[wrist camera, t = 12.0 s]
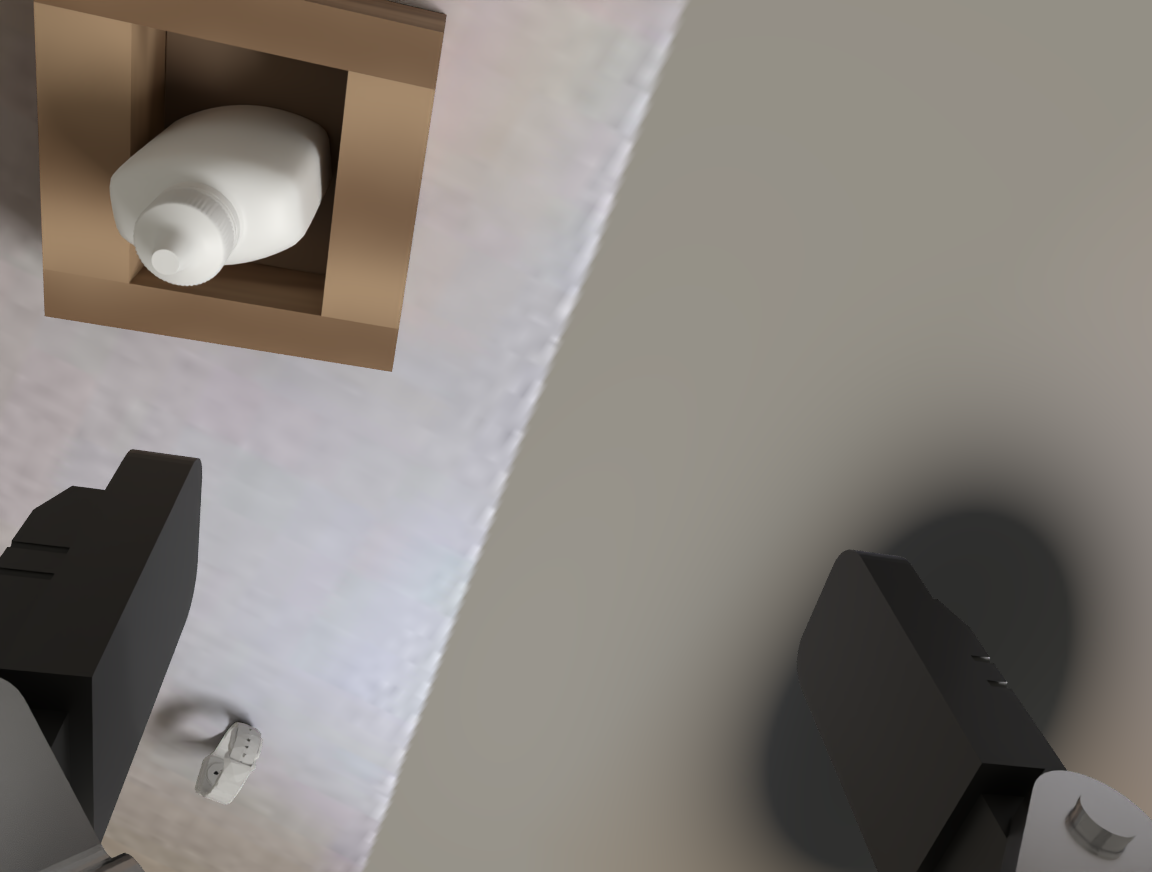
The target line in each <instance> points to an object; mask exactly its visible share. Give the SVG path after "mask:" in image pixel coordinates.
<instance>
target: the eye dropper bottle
mask: <svg viewBox="0 0 1152 872" xmlns="http://www.w3.org/2000/svg"><path fill="white" fill-rule="evenodd" d="M331 175H332V172H331V155H330V144H329V138H328V135H327V133H326V131H325V130H324V129H323V128H322V127H321V126H320V125H319V124H317V123H315V122H313V121H311V120H309V119H307V118H304V117H302V116H299V115H297V114H294V113H291V112H287V111H284V110H280V109H276V108H271V107H265V106H257V105H229V106H221V107H215V108H210V109H206V110H202V111H199V112H196V113H193V114H190V115H188V116H185V117H183V118H181V119H179V120H177V121H175V122H174V123H172V124H171V125H170V126H169V127H167V128H166V129H165V130H164V131H162V132H161V133H160V134H159V135H157V136H156V137H155V138H154V139H152V140H151V141H150V142H149V143H147V144H146V145H145V146H144V147H143V148H141V149H140V150H139V151H138V152H136V153H135V154H134V155H133V156H132V157H130V158H129V159H128V160H127V161H126V162H125V163H124V164H123V165H122V166H121V167H119V168H118V170H117V171H116V172H115V173H114V174H113V176H112V177H111V181H110V199H111V204H112V210H113V215H114V219H115V223H116V227H117V229H118V231H119V233H120V235H121V236H122V237H123V238H124V239H125V240H127V241H128V242H129V243H131V244H133V245H134V246H135V247H136V248H135V250H136V251H137V253H136V254H137V255H138V256H139V259H141V262H142V263H143V264H144V266H145V267H147V269H148V270H149V271H151V273H153V274H154V275H155V276H157V277H159V279H162V280H163V281H167V282H168V283H172V284H173V285H174V284H176V285H178V286H179V285H181V286H184V285H185V286H189V285H190V286H193V285H198V284H202V283H206V281H209V280H210V279H211V278H213V277H214V276H216V275H217V273H218V272H220V270H221V269H222V267H223V266H224V265H234V264H240V263H246V262H251V261H255V260H259V259H262V258H266V257H269V256H271V255H274V254H277V253H279V252H281V251H283V250H286V249H288V248H290V247H292V246H293V245H295V244H296V243H297V242H298V241H299V240H300V239H301V238H302V237H303V236H304V235H305V233H306V231H307V229H308V228H309V226H310V224H311V222H312V220H313V218H314V216H315V214H316V211H317V209H318V207H319V205H320V203H321V201H322V199H323V197H324V195H325V192H326V190H327V188H328V186H329V183H330V180H331Z"/></svg>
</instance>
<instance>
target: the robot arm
mask: <svg viewBox="0 0 1152 872" xmlns="http://www.w3.org/2000/svg"><path fill="white" fill-rule="evenodd" d="M201 487H202V464H201V460H200V459H199V458H192V457H185V456H178V455H171V454H163V453H156V452H149V451H142V450H134V449H132V450H130V451H129V452H128V453H127V454H126V456H125V457H124V459H123V461H122V462H121V464H120V466H119V467H118V469H117V471H116V472H115V474H114V476H113V477H112V479H111V481H110V482H109V484H108V486H107V487H106V489H105V490H101V489H93V488H85V487H77V486H71V487H70V488H68V489H66V490H65V491H63V492H61V493H60V494H58V495H57V496H55V497H53V498H52V499H50V500H48V501H47V502H45V503H44V504H42V505H40V506H39V507H37V508H35V509H34V510H33V511H32V512H31V514H30V515H29V517H28V518H27V520H26V521H25V523H24V524H23V525H22V527H21V528H20V530H19V531H18V533H17V534H16V535H15V537H14V538H13V540H12V544H11V547H7V548H6V550H5V551H4V553H3V554H2V555H1V557H0V872H144V870H143V869H142V867H141V866H140V865H139V863H138V862H137V861H136V860H135V859H134V858H133V857H132V856H130V855H129V854H126V853H123V854H120V855H118V856H116V857H114V858H111V857H110V856H109V855H108V854H107V853H106V851H105V850H104V848H103V847H102V845H101V841H102V839H103V836H104V834H105V831H106V828H107V826H108V823H109V820H110V818H111V815H112V813H113V810H114V807H115V805H116V802H117V800H118V797H119V794H120V792H121V789H122V787H123V784H124V781H125V779H126V776H127V774H128V771H129V768H130V766H131V763H132V760H133V758H134V755H135V753H136V750H137V747H138V745H139V742H140V740H141V737H142V734H143V732H144V729H145V727H146V724H147V721H148V719H149V716H150V714H151V711H152V708H153V706H154V703H155V700H156V698H157V695H158V693H159V690H160V687H161V685H162V682H163V680H164V677H165V674H166V672H167V669H168V667H169V664H170V661H171V659H172V656H173V654H174V651H175V648H176V646H177V643H178V640H179V638H180V635H181V633H182V630H183V627H184V625H185V622H186V619H187V616H188V613H189V610H190V606H191V602H192V598H193V593H194V587H195V581H196V574H197V563H198V544H199V525H200V506H201ZM989 659H990V656H989V655H988V654H987V652H986V651H985V649H984V648H983V646H982V645H981V643H980V642H979V640H978V639H977V637H976V636H975V634H974V633H973V632H972V630H971V629H970V627H969V626H968V625H966V624H965V623H964V622H963V621H962V620H961V619H959V618H958V617H957V616H956V615H955V614H954V613H953V612H951V611H950V610H949V609H948V608H947V607H946V606H945V605H944V604H943V603H941V602H940V601H939V600H938V599H933V597H932V596H931V594H930V593H929V591H928V589H927V588H926V586H925V585H924V583H923V582H922V580H921V579H920V577H919V576H918V574H917V573H916V571H915V570H914V568H913V567H912V565H911V564H910V562H909V561H908V560H907V559H905V558H903V557H900V556H893V555H886V554H878V553H871V552H864V551H856V550H846V551H844V552H843V553H841V554H840V555H839V557H838V558H837V559H836V561H835V563H834V565H833V567H832V570H831V572H830V574H829V577H828V579H827V581H826V583H825V586H824V588H823V590H822V593H821V595H820V597H819V599H818V601H817V604H816V606H815V609H814V611H813V613H812V615H811V617H810V620H809V622H808V624H807V627H806V629H805V631H804V633H803V636H802V638H801V641H800V645H799V650H798V657H797V672H798V679H799V683H800V687H801V689H802V692H803V694H804V697H805V699H806V701H807V703H808V706H809V708H810V711H811V713H812V715H813V718H814V720H815V723H816V725H817V728H818V730H819V732H820V735H821V737H822V740H823V742H824V744H825V747H826V749H827V752H828V754H829V756H830V759H831V761H832V764H833V766H834V768H835V770H836V773H837V775H838V778H839V780H840V783H841V785H842V787H843V790H844V792H845V795H846V797H847V799H848V802H849V804H850V806H851V809H852V811H853V814H854V816H855V818H856V821H857V823H858V826H859V828H860V831H861V833H862V835H863V838H864V840H865V843H866V845H867V847H868V850H869V852H870V854H871V857H872V859H873V862H874V864H875V866H876V869H877V871H878V872H1152V820H1151V819H1150V818H1149V817H1148V816H1147V815H1146V814H1145V813H1144V812H1143V811H1142V810H1141V809H1140V808H1139V807H1138V806H1137V805H1135V804H1134V803H1133V802H1132V801H1131V800H1129V799H1128V798H1126V797H1125V796H1124V795H1122V794H1121V793H1119V792H1118V791H1116V790H1115V789H1113V788H1111V787H1110V786H1108V785H1106V784H1104V783H1102V782H1100V781H1098V780H1096V779H1094V778H1091V777H1089V776H1086V775H1083V774H1079V773H1076V772H1071V771H1067V770H1066V768H1065V767H1064V765H1063V764H1062V762H1061V761H1060V759H1059V758H1058V756H1057V755H1056V754H1055V752H1054V751H1053V749H1052V748H1051V746H1050V745H1049V743H1048V742H1047V740H1046V739H1045V737H1044V736H1043V734H1042V733H1041V732H1040V730H1039V729H1038V727H1037V726H1036V724H1035V723H1034V721H1033V720H1032V718H1031V717H1030V715H1029V714H1028V712H1027V711H1026V709H1025V708H1024V706H1023V705H1022V704H1021V702H1020V701H1019V699H1018V698H1017V696H1016V695H1015V693H1014V692H1013V690H1012V689H1010V688H1007V687H1006V684H1007V682H1006V680H1005V679H1004V677H1003V676H1002V674H1001V673H1000V671H999V670H998V668H997V667H996V665H995V664H994V663H990V661H989Z"/></svg>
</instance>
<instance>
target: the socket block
mask: <svg viewBox="0 0 1152 872" xmlns="http://www.w3.org/2000/svg"><path fill="white" fill-rule="evenodd" d="M445 22H446V14H442V13H437V12H433V11H429V10H425V9H420V8H416V7H412V6H408V5H403V4H399V3H395V2H390V1H386V0H34V25H35V53H36V82H37V110H38V138H39V167H40V195H41V223H42V251H43V280H44V308H45V316H48V317H54V318H60V319H66V320H72V321H79V322H85V323H91V324H97V325H104V326H110V327H116V328H122V329H129V330H135V331H141V332H147V333H154V334H160V335H166V336H172V337H178V338H185V339H191V340H197V341H203V342H210V343H216V344H222V345H228V346H235V347H241V348H247V349H253V350H259V351H266V352H272V353H278V354H284V355H291V356H297V357H303V358H309V359H316V360H322V361H328V362H334V363H341V364H347V365H353V366H359V367H365V368H372V369H378V370H384V371H390V372H392V368H393V362H394V355H395V349H396V342H397V336H398V330H399V323H400V317H401V310H402V304H403V297H404V290H405V284H406V277H407V271H408V264H409V258H410V251H411V245H412V238H413V232H414V225H415V218H416V212H417V205H418V199H419V192H420V186H421V179H422V173H423V166H424V160H425V153H426V146H427V140H428V133H429V127H430V120H431V114H432V107H433V101H434V94H435V88H436V81H437V74H438V68H439V61H440V55H441V48H442V42H443V35H444V29H445ZM229 105H257V106H265V107H271V108H276V109H280V110H284V111H287V112H291V113H294V114H297V115H299V116H302V117H304V118H307V119H309V120H311V121H313V122H315V123H317V124H319V125H320V126H321V127H322V128H323V129H324V130H325V131H326V133H327V135H328V138H329V144H330V155H331V172H332V175H331V180H330V183H329V186H328V188H327V190H326V192H325V195H324V197H323V199H322V201H321V203H320V205H319V207H318V209H317V211H316V214H315V216H314V218H313V220H312V222H311V224H310V226H309V228H308V229H307V231H306V233H305V235H304V236H303V237H302V238H301V239H300V240H299V241H298V242H297V243H296V244H295V245H293V246H292V247H290V248H288V249H286V250H283V251H281V252H279V253H277V254H274V255H271V256H269V257H266V258H262V259H259V260H255V261H251V262H246V263H240V264H234V265H224V266H223V267H222V269H221V270H220V272H218V273H217V275H216V276H214V277H213V278H211V279H210V280H209V281H206V283H202V284H198V285H193V286H190V285H189V286H185V285H184V286H181V285H179V286H178V285H176V284H174V285H173V284H172V283H168V282H167V281H163V280H162V279H159V277H157V276H155V275H154V274H153V273H151V271H149V270H148V269H147V267H145V266H144V264H143V263H142V262H141V259H139V256H138V255H137V254H136V253H137V251H136V250H135V248H136V247H135V246H134V245H133V244H131V243H129V242H128V241H127V240H125V239H124V238H123V237H122V236H121V235H120V233H119V231H118V229H117V227H116V223H115V219H114V215H113V210H112V204H111V199H110V181H111V177H112V176H113V174H114V173H115V172H116V171H117V170H118V168H119V167H121V166H122V165H123V164H124V163H125V162H126V161H127V160H128V159H129V158H130V157H132V156H133V155H134V154H135V153H136V152H138V151H139V150H140V149H141V148H143V147H144V146H145V145H146V144H147V143H149V142H150V141H151V140H152V139H154V138H155V137H156V136H157V135H159V134H160V133H161V132H162V131H164V130H165V129H166V128H167V127H169V126H170V125H171V124H172V123H174V122H175V121H177V120H179V119H181V118H183V117H185V116H188V115H190V114H193V113H196V112H199V111H202V110H206V109H210V108H215V107H221V106H229Z"/></svg>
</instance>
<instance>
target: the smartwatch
mask: <svg viewBox="0 0 1152 872" xmlns="http://www.w3.org/2000/svg"><path fill="white" fill-rule="evenodd" d="M262 742H263V739H262V738H261V733H260V732H259V731H258V730H257V729H256V728H254V727H251V726H249V725H247V724H244V723H239V722H236V723H234V724H233V725H232V726H231V727H230V728H229V730H228V731H227V732H226V733H225V735H224V737H223V738H222V740H221V742H220V743H219V745H218V746H217V748H216V749H215V751H214V752H213V753H211V754H210V755H209V756H207V757H205V758H204V760H203V762H202V766H201V769H200V772H199V776H198V779H197V782H196V786H195V790H196V792H197V793H198V794H199V795H202V796H203V797H205V798H208V799H211V800H213V801H216V802H219V803H222V804H224V805H226V804H229V803H231V802H232V801H233V799H234V797H236V795H237V793H238V792H239V791H240V789H241V788H242V786H243V784H244V783H245V781H246V779H247V778H248V776H249V774H250V773H251V772H252V771H254V770H255V768H256V759H258V757H259V755H260V752H261V748H262Z"/></svg>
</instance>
